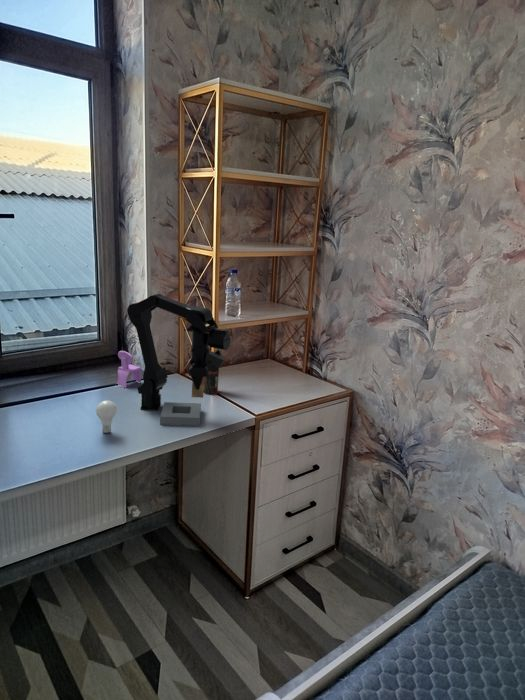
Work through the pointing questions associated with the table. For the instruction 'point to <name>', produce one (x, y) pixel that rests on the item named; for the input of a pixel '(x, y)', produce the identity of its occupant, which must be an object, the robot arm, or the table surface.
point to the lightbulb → (106, 414)
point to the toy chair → (127, 369)
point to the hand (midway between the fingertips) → (197, 387)
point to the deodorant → (211, 380)
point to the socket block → (180, 414)
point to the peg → (198, 392)
